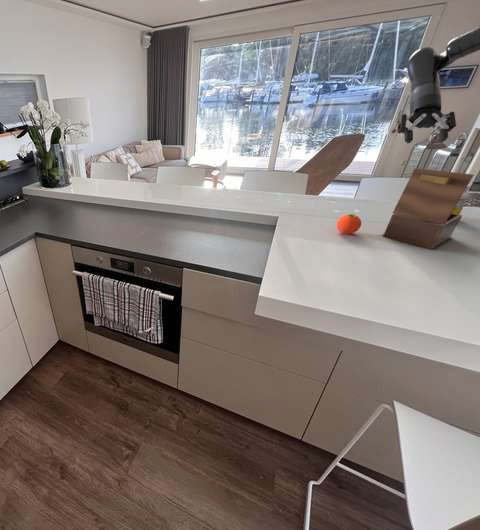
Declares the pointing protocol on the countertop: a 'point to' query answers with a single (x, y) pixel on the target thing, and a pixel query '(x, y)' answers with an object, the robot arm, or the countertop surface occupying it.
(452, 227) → the chest
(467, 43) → the robot arm
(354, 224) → the clementine
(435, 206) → the lid
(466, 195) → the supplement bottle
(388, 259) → the countertop surface
